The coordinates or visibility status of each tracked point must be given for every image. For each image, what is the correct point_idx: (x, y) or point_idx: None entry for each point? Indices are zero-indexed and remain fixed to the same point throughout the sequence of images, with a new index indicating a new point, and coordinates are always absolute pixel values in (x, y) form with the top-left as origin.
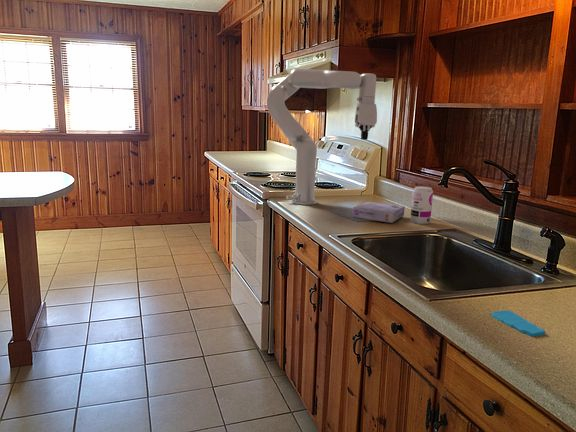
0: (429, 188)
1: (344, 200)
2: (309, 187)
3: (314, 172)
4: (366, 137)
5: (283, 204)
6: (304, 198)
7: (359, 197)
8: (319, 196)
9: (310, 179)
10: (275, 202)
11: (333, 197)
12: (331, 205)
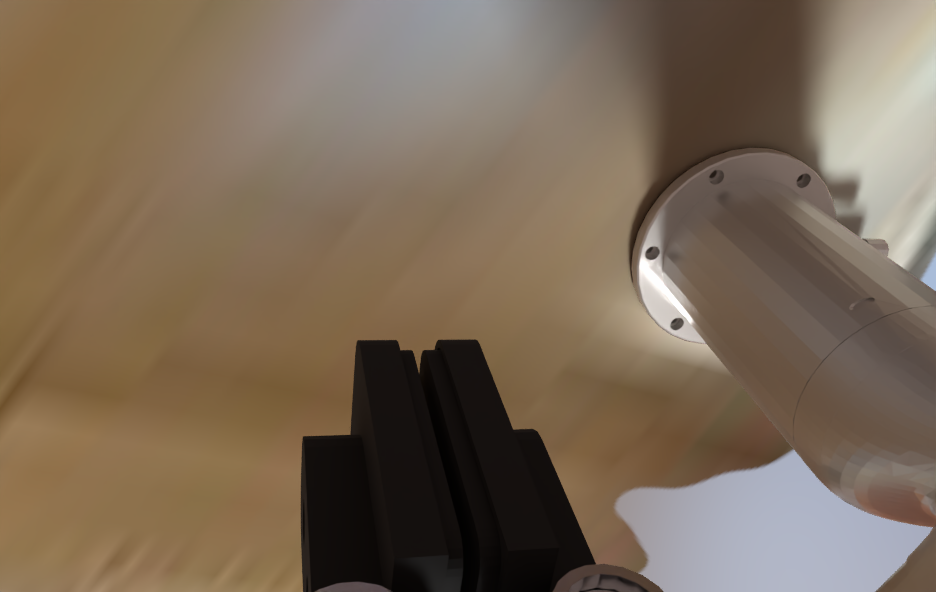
0: None
1: (345, 224)
2: (835, 232)
3: (865, 322)
4: (413, 380)
5: (903, 236)
6: (810, 202)
7: (101, 304)
8: None
9: (878, 268)
10: None
11: None
12: (612, 67)
